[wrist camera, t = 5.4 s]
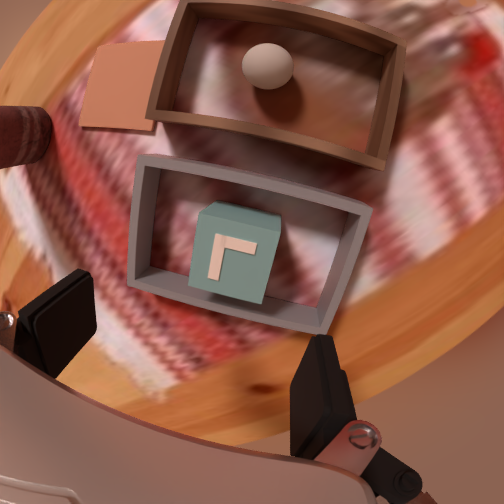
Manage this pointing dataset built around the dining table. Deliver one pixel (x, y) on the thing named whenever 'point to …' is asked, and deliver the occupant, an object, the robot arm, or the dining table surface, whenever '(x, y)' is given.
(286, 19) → the bin walnut
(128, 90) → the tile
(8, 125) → the can
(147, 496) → the robot arm
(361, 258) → the dining table surface
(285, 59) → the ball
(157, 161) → the bin grey
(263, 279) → the letter cube
